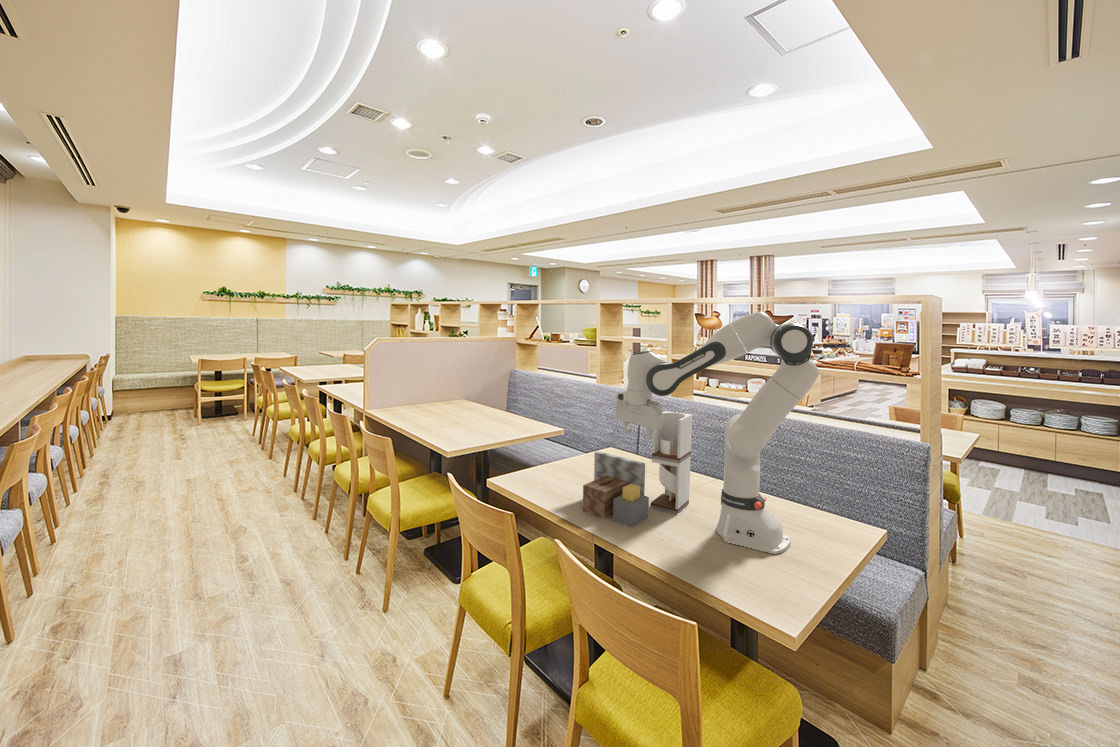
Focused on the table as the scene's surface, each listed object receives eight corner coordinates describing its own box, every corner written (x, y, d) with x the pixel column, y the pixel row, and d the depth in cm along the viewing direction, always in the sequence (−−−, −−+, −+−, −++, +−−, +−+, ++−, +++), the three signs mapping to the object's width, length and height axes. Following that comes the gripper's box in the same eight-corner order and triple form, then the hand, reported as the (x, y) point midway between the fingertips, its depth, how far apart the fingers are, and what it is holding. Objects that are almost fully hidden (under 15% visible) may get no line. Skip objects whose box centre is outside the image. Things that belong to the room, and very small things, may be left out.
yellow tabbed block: (639, 508, 167) (640, 486, 166) (631, 512, 163) (632, 490, 162) (630, 505, 170) (630, 483, 169) (622, 509, 166) (622, 487, 165)
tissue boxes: (643, 510, 175) (645, 463, 173) (618, 524, 163) (619, 474, 161) (597, 494, 190) (597, 451, 188) (570, 506, 178) (571, 460, 176)
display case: (662, 498, 187) (665, 411, 182) (688, 504, 181) (692, 414, 176) (650, 507, 177) (653, 416, 173) (677, 514, 171) (681, 420, 167)
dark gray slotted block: (648, 518, 168) (648, 496, 167) (632, 527, 161) (632, 505, 160) (629, 512, 173) (629, 491, 172) (613, 520, 166) (613, 498, 165)
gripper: (668, 401, 157) (666, 442, 159) (625, 392, 174) (624, 428, 176) (655, 403, 154) (653, 444, 156) (612, 393, 170) (611, 431, 172)
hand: (637, 436), depth 166 cm, fingers open, 8 cm apart
